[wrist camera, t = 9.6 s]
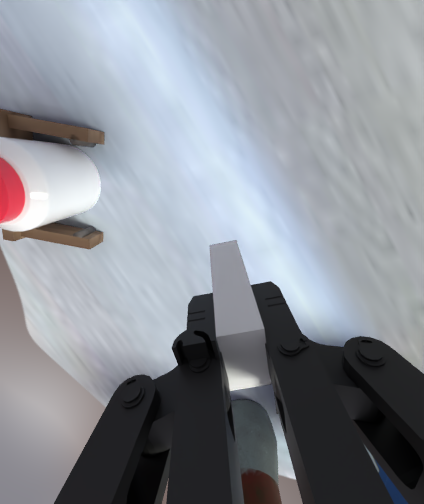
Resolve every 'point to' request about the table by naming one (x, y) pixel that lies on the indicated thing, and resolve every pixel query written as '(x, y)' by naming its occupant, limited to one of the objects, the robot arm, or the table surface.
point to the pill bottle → (44, 183)
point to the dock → (24, 126)
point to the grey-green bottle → (256, 453)
